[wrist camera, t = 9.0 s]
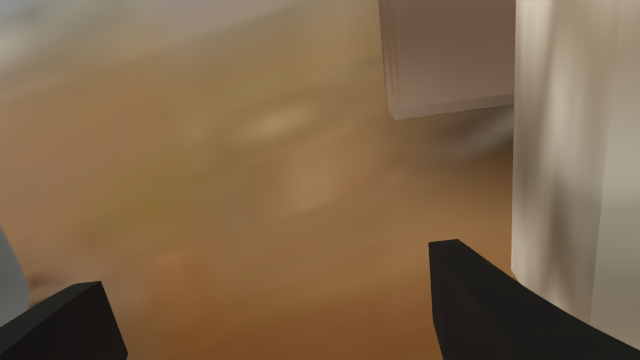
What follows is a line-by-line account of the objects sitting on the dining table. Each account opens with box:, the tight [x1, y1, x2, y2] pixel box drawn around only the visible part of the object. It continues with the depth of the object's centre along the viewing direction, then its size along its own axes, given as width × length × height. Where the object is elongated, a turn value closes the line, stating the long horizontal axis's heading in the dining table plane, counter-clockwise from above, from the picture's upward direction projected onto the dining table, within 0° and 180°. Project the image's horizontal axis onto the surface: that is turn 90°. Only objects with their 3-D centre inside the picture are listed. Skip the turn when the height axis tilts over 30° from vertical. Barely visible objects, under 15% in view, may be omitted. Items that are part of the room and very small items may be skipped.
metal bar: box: [511, 0, 640, 350], centre depth 11 cm, size 16×3×5 cm, turn 8°
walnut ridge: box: [378, 0, 516, 120], centre depth 15 cm, size 5×10×4 cm, turn 98°
